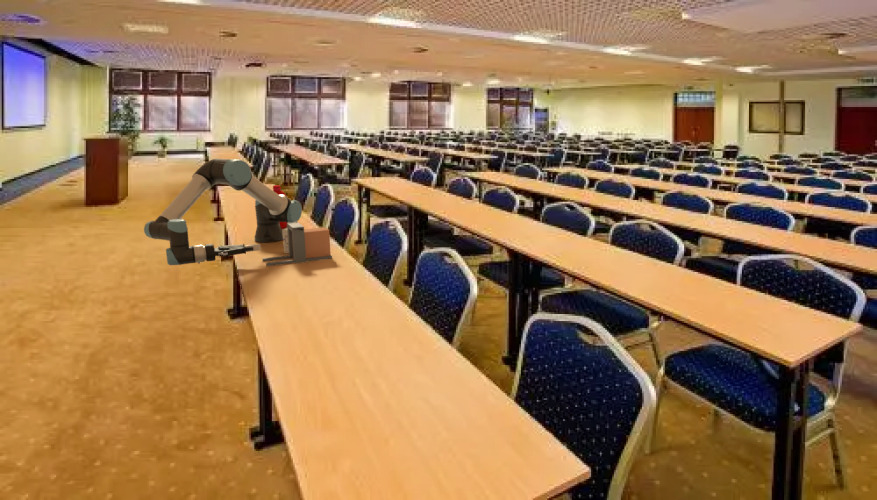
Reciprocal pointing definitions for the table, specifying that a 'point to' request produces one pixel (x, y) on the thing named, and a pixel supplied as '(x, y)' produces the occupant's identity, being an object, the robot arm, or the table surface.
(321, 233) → the brick
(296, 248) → the grey stand
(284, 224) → the water bottle
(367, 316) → the table surface
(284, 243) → the ink cartridge box
